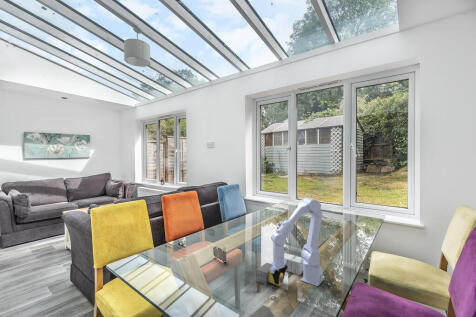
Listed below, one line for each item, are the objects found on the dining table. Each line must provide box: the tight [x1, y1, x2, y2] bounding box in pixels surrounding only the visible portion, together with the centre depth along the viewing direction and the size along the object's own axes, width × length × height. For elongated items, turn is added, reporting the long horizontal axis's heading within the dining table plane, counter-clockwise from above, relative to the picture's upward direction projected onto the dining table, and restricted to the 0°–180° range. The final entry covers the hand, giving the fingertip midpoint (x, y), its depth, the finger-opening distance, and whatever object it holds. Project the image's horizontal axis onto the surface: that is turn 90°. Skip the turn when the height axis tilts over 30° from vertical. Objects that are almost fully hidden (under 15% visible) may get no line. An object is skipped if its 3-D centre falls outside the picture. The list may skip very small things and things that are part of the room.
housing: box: [256, 262, 273, 286], centre depth 122 cm, size 6×10×6 cm, turn 140°
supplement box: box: [284, 252, 303, 276], centre depth 132 cm, size 7×7×13 cm
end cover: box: [268, 272, 284, 287], centre depth 119 cm, size 10×5×5 cm, turn 50°
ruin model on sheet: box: [212, 245, 227, 262], centre depth 147 cm, size 11×3×10 cm, turn 39°
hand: (279, 281), depth 117 cm, fingers closed on end cover, 5 cm apart
